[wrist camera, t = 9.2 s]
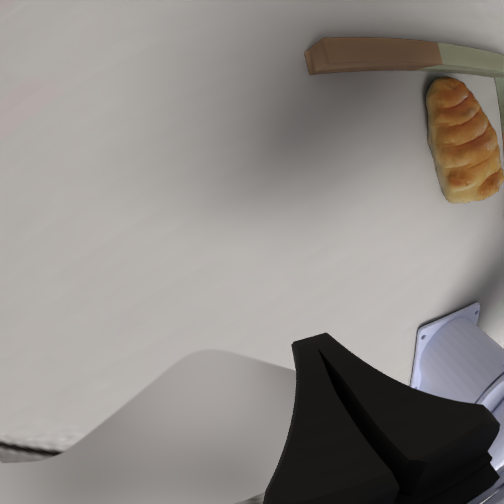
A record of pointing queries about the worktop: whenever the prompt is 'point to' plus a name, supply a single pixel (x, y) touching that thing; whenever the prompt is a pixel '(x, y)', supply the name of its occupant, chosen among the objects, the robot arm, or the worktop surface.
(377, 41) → the two-tone corner bracket
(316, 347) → the robot arm
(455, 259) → the worktop surface
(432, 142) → the pastry
